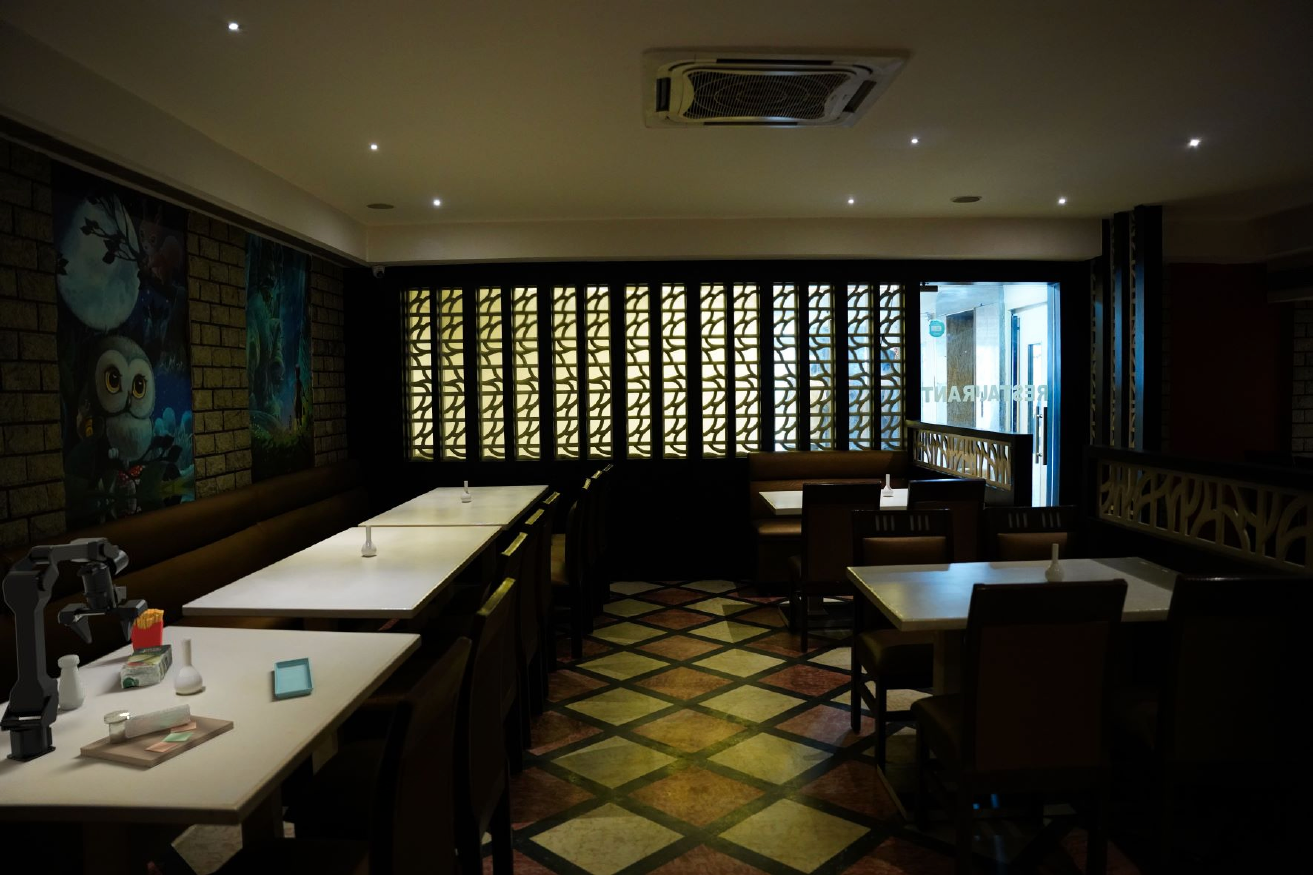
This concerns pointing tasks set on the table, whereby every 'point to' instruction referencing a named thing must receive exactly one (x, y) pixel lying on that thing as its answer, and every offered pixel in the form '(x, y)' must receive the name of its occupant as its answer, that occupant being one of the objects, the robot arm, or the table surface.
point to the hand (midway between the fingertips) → (109, 641)
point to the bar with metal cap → (144, 722)
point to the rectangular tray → (293, 678)
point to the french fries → (148, 629)
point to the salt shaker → (70, 683)
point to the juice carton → (146, 666)
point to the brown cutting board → (158, 742)
